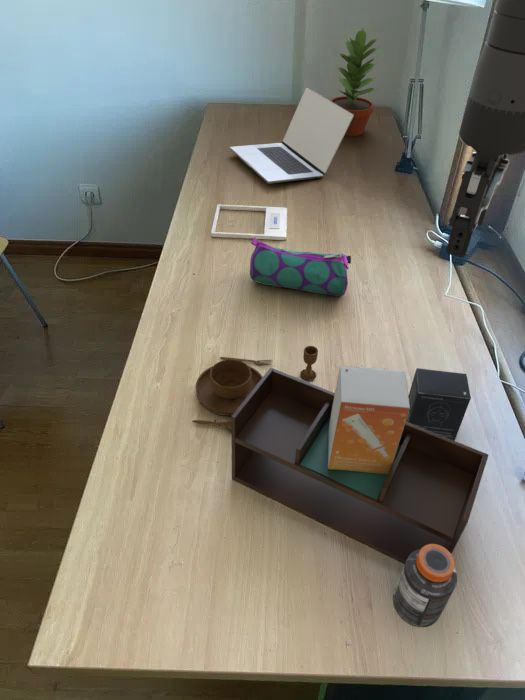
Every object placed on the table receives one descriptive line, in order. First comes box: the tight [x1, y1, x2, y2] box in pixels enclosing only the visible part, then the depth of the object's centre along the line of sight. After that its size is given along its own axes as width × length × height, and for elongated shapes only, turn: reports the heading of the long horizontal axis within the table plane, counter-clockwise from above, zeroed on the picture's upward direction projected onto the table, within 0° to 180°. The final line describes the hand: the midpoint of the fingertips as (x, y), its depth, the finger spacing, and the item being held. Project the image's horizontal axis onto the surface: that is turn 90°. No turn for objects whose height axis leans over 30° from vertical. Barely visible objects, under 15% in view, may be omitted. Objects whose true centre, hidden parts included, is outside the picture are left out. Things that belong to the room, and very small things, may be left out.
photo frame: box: [210, 203, 288, 241], centre depth 140 cm, size 15×1×18 cm
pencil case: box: [249, 237, 352, 297], centre depth 118 cm, size 21×9×10 cm, turn 78°
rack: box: [230, 367, 489, 565], centre depth 77 cm, size 31×11×14 cm, turn 61°
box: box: [406, 367, 472, 441], centre depth 89 cm, size 8×6×11 cm
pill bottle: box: [392, 544, 458, 628], centre depth 67 cm, size 6×6×11 cm
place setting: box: [192, 345, 319, 430], centre depth 94 cm, size 18×20×6 cm
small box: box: [328, 365, 410, 475], centre depth 71 cm, size 8×6×13 cm
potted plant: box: [329, 27, 379, 137], centre depth 179 cm, size 15×15×30 cm
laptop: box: [229, 86, 354, 185], centre depth 161 cm, size 26×24×18 cm
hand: (464, 238), depth 67 cm, fingers open, 8 cm apart
